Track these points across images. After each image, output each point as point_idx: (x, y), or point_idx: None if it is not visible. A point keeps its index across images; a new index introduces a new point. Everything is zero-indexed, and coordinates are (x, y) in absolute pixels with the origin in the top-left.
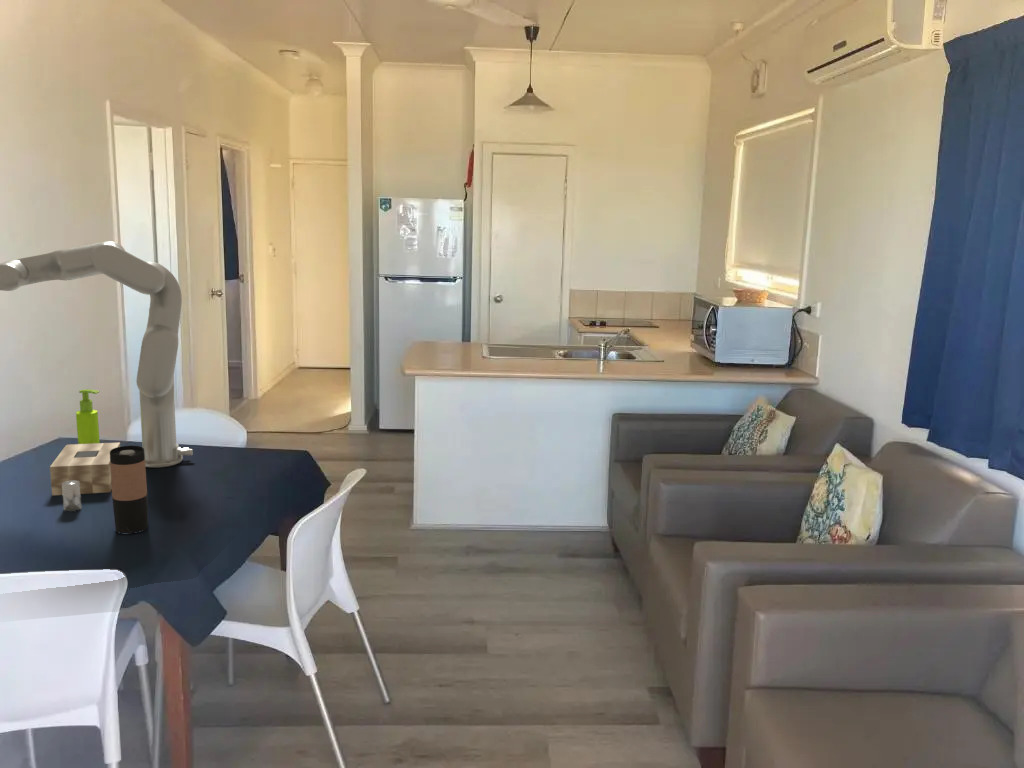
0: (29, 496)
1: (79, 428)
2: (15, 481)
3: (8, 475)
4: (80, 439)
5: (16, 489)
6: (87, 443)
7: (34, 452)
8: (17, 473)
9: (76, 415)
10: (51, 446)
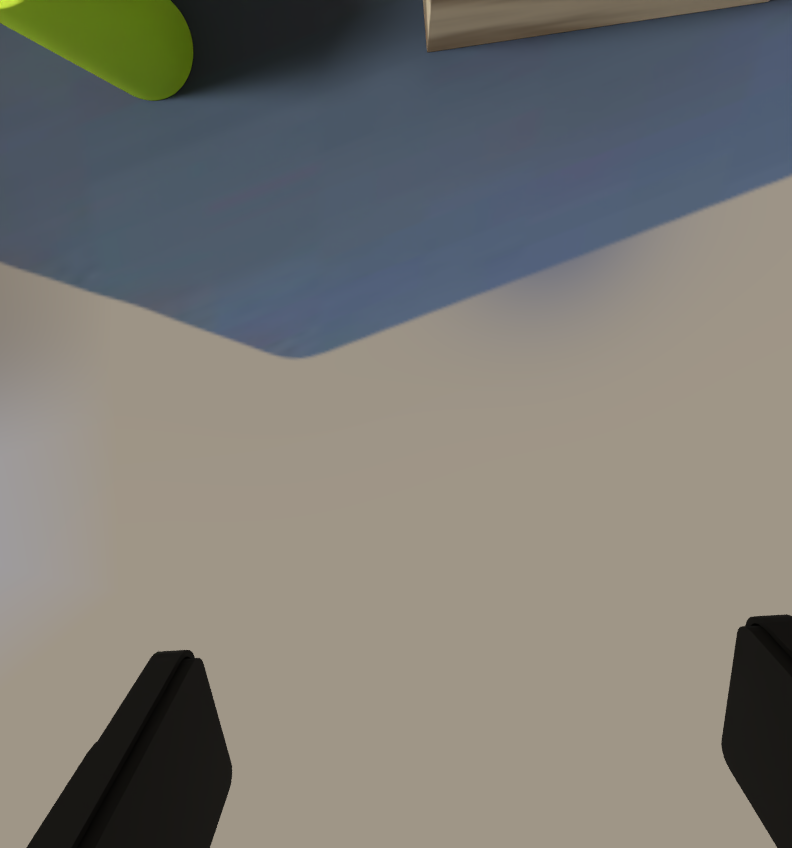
0: (751, 108)
1: (113, 17)
2: (543, 243)
3: (464, 299)
4: (150, 43)
5: (647, 200)
6: (161, 7)
7: (168, 310)
8: (442, 274)
9: (43, 1)
10: (78, 270)
